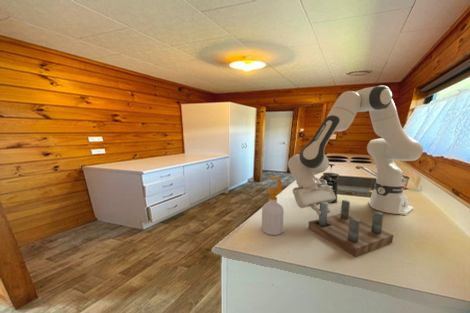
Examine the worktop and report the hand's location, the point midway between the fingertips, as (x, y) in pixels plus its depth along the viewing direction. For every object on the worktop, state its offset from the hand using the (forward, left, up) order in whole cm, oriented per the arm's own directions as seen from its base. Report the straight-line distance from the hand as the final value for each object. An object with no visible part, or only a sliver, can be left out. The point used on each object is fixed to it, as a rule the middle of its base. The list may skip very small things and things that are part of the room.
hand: (324, 213), depth 85 cm
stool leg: (0, -1, -7) cm, 7 cm away
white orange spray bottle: (+20, -10, -8) cm, 24 cm away
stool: (-7, +6, -8) cm, 12 cm away
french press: (-34, -26, -8) cm, 43 cm away
